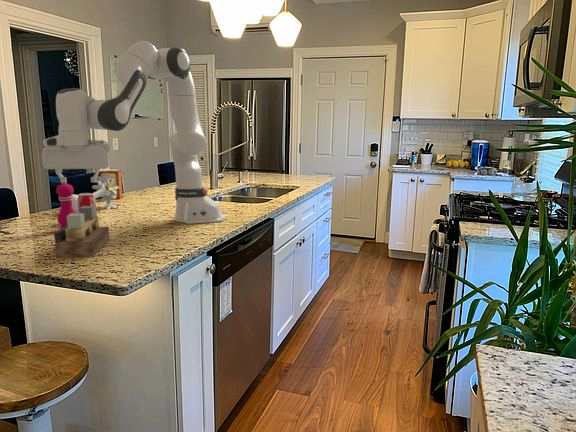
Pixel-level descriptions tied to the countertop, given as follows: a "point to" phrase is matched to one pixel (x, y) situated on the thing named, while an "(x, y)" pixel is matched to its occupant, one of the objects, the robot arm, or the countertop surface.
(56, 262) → the countertop surface
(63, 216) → the pepper mill
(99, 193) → the flower vase
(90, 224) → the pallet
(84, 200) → the soda can
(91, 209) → the block
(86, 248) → the block
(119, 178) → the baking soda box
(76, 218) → the block
